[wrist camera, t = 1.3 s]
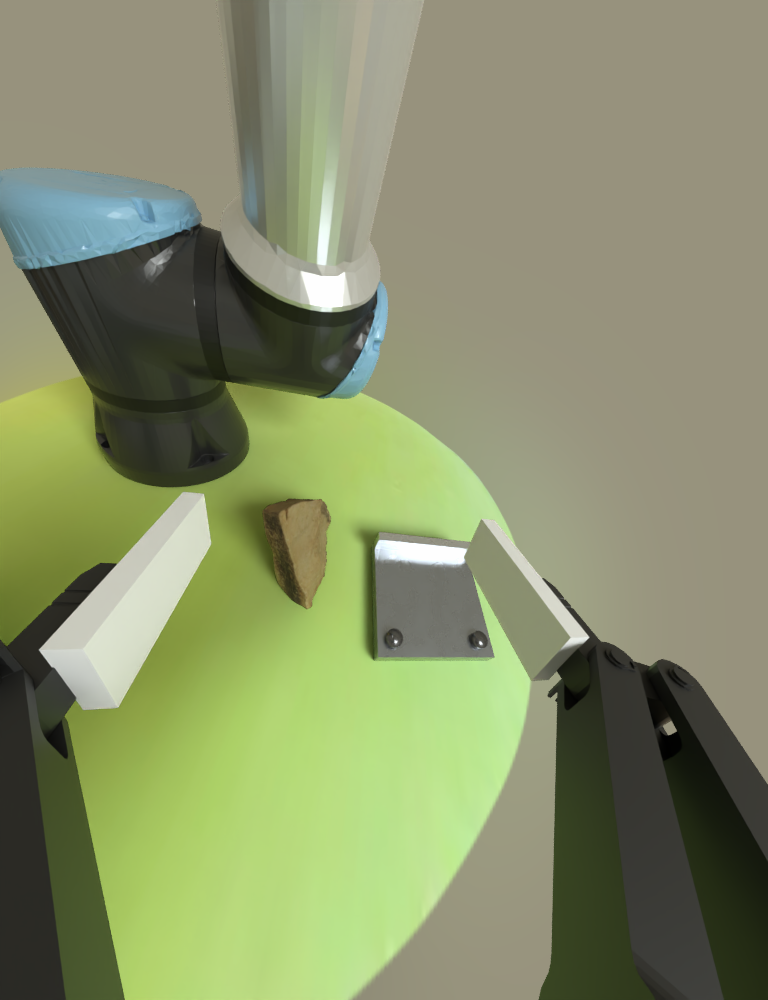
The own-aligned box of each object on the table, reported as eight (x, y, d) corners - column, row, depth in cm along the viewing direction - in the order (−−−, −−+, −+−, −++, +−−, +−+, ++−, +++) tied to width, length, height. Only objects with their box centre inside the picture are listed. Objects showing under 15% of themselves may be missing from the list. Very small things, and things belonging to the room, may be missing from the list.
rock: (305, 483, 34) (227, 521, 27) (351, 464, 28) (270, 506, 21) (343, 557, 36) (282, 612, 29) (393, 553, 31) (333, 619, 23)
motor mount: (371, 547, 33) (378, 531, 31) (460, 556, 36) (474, 542, 34) (374, 660, 26) (384, 652, 23) (486, 660, 29) (506, 653, 26)
